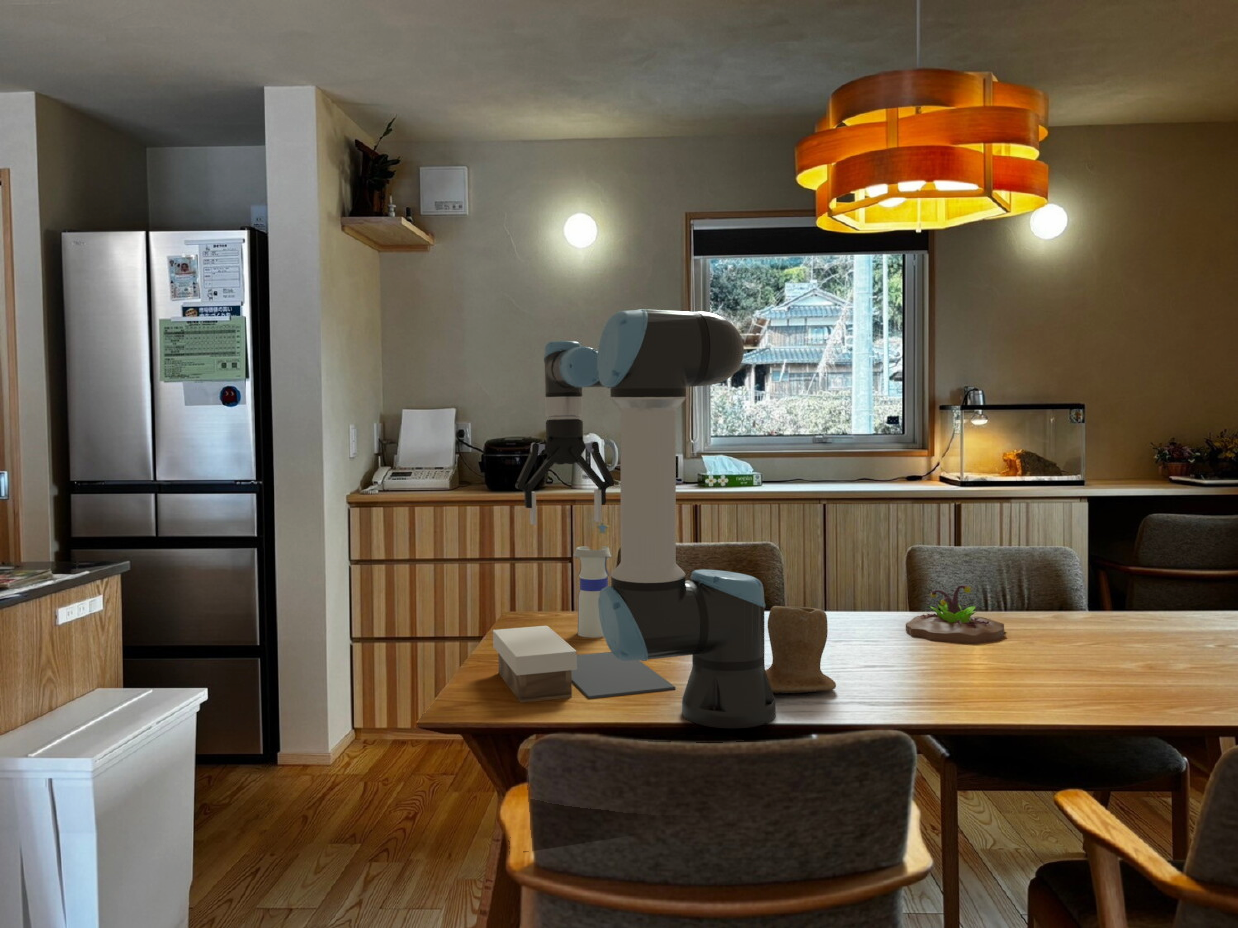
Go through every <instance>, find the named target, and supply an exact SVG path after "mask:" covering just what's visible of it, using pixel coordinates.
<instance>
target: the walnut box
mask: <svg viewBox="0 0 1238 928" xmlns="http://www.w3.org/2000/svg"><path fill="white" fill-rule="evenodd" d="M497 658H498V659H497V660H498V661H497V662H498V663H497V664H498V674H499V676H500V677H501V678H502V680H503V681H504V682H505V684H506V686H508V687H509V689H510V690H511V691H512V693H513V694H514V696H515V697H516V698H517V700H518V701H519V702H520V704H522V703H530V702H539V701H540V702H541V701H550V700H559V699H569V698H573V693H572V692H573V690H572V688H573V687H572V686H573V685H572V684H573V683H572V677H571V670H568V671H557V672H547V673H537V674H527V675H516V674H515V673H514V672H513V670H512V669H511V668H510V667H509V665H508V664H507V663H506V662H505V661H504V659H503V658H502V657H501V656H500V654H499V653H498V652H497Z"/></svg>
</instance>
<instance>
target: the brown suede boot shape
mask: <svg viewBox="0 0 1238 928" xmlns="http://www.w3.org/2000/svg"><path fill="white" fill-rule="evenodd" d="M767 619H768V620H767V630H768V631H767V632H768V638H769V644H770V649H771V656H772V662H771V665H770V666H769V667H768V668H766V669H765V671H766V674H767V677H768V680H769V683H770V686H771V689H772V692H773V694H799V693H802V694H803V693H815V692H828V691H834V690H835V689H836V688H837V684H836V682H835V681H834V680H833V678H831V677H829V676H828V675H826V674H824V673H823V672H822V669H821V661H822V657H823V653H824V650H825V647H826V643H827V639H828V632H829V631H828V628H829V627H828V615H827V614H826V612H825V611H824V610H823V609H820V608H815V607H807V606H804V607H803V606H790V605H789V606H782V605H781V606H779V605H773V606H772V607H771V608H770V610H769V614H768V617H767Z"/></svg>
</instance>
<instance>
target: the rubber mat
mask: <svg viewBox="0 0 1238 928" xmlns="http://www.w3.org/2000/svg"><path fill="white" fill-rule="evenodd" d="M571 677H572V684H573V685H574V686H576V688H577V689H578V690H579V691H581V693H582V694H583V695H584V697H586V698H587V699H588V700H592V699H602V698H609V697H610V698H611V697H612V698H613V697H619V696H628V695H638V694H649V693H655V692H664V691H665V692H666V691H675V690H676V686H675V685H674V684H673V683H671V682H669V681H668V680H667V679H666V678H664V677H663V676H661V675H660V674H659V673H657V672H656V671H654V669H652V668H650V667H649V666H648V665H646V664H645V663H644V662H643V661H641V660H633V661H623V660H620V659H618V658H617V657H616V656H614V654H613V653H612V652H611V651H606V652H605V651H604V652H596V653H595V652H594V653H585V654H584V653H583V654H577V670H571Z"/></svg>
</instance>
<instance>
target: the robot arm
mask: <svg viewBox="0 0 1238 928" xmlns="http://www.w3.org/2000/svg"><path fill="white" fill-rule="evenodd" d="M744 351H745V347H744V341H743V339H742V336H741V334H740V332H739V330H738V329H737V328H736V326H735V325H734V324H733V323H732V322H730V321H729V320H727V319H726V318H724V317H722V316H720V315H718V314H715V313H713V312H708V311H699V310H698V311H681V310H664V309H663V310H661V309H659V310H658V309H641V308H639V309H631V310H619V311H617V312H614V314H613V315H611V316H610V317H609V319H608V320H607V322H606V324H605V326H604V328H603V330H602V332H601V336H600V339H599V343H598V347H589V346H582V345H581V343H580V342H578V341H573V340H557V341H555V340H554V341H550V342H549V341H548V342H547V343H546V344H545V345H544V356H543V363H544V385H545V386H544V387H545V389H544V390H545V391H544V392H545V393H544V394H545V396H544V397H545V417H546V418H547V417H548V419H547V420H546V421H545V442H544V443H542V444H541V443H538V442H532V443H530V444H529V445H530V448H529V454H528V456H527V458H526V461H525V462H524V465H523V467H522V469H521V471H520V474H519V476H518V477H517V480H516V483H515V485H514V487H515V488H516V489H518V490H521V491H523V493H524V507H525V508H526V509H529V524H530V525H532V526H537V492H535V491H533V490H534V488H536V486H537V485H538V483H540V481H541V480H542V479H543V477H544V476H545V475H546V474H547V472H549V470H550V469H551V468H552V467H553V465H555V464H556V465H566V464H567V465H574V464H576V465H578V467H580V468H581V469H582V471H583V472H584V473H585V474H586V475H587V476H588V478H589V479H590V480H591V481H592V483H593V484H594V485H595V486H596V487H597V488H595V489H593V493H594V494H593V501H594V502H593V503H594V504H593V508H594V522H597V523H602V521H603V519H602V516H603V515H602V509H603V508H602V506H605V505H606V503H607V501H606V500H607V494H606V493H607V491H606V490H607V489H608V488H610V487H613V486H615V480H614V478H613V476H612V474H611V472H610V470H609V468H608V466H607V464H606V462H605V461H604V458H603V456H602V454H601V452H600V446H599V445H600V444H599V442H598V441H594V440H592V441H590V442H587V443H586V442H585V441H584V423H583V422H584V421H583V420H582V419H581V417H582V416H584V415H583V414H584V412H583V411H584V410H583V388H607V389H610V400H611V401H612V402H613V403H614V404H615V406H617V407H618V408H619V410H620V411H619V414H620V417H619V418H620V425H619V426H620V427H619V429H620V432H619V433H620V434H619V435H620V439H619V440H620V443H619V444H620V446H619V447H620V448H619V449H620V562H619V564H618V565H617V566H616V567H615V568H614V570H612V571H611V573H610V574H611V575H610V580H611V581H610V583H611V584H610V585H608V586H606V587H605V588H603V589H602V590H601V591H600V593H599V596H600V597H599V599H598V609H599V618H600V623H601V627H602V631H603V634H604V637H603V638H604V640H605V643H606V644H607V646H608V647H607V648H608V649H609V650H610V652H612V653H613V654H614V656H616V657H617V658H618V659H620V660H623V661H633V660H639V661H641V662H647V661H648V660H656V659H657V660H658V659H665V658H674V657H675V658H677V657H685V656H686V657H687V656H692V658H691V659H692V660H691V661H692V664H691V665H692V666H691V670H690V673H689V676H688V681H687V683H686V686H685V689H684V694H683V696H682V700H681V715H682V716H683V718H684V719H686V720H687V721H688V722H692V723H694V724H696V725H700V726H705V727H710V728H715V729H716V728H717V729H747V728H754V727H755V728H756V727H759V726H762V725H766V724H768V722H769V723H770V722H772V721H774V719H775V718H776V717H777V714H776V713H777V712H776V710H777V708H776V707H777V705H776V703H777V702H776V698H775V696H774V693H773V692H772V689H771V686H770V683H769V680H768V677H767V674H766V671H765V670H766V667H765V609H766V602H765V593H764V591H765V590H764V585H763V583H762V581H761V580H760V579H758V578H756V577H755V576H752V575H749V574H745V573H739V572H733V571H727V570H718V569H695V570H693V571H692V572H691V575H690V577H689V578H690V580H686V572H684V570H683V569H682V568H681V567H680V566H679V565H678V564H677V561H676V560H677V558H676V555H677V553H676V551H677V550H676V548H677V547H676V543H677V540H676V536H677V534H676V532H677V531H676V528H677V527H676V526H677V525H676V524H677V523H676V522H677V521H676V520H677V517H676V515H677V514H676V513H677V512H676V510H677V508H676V507H677V506H676V505H677V502H676V501H677V500H676V499H677V495H676V489H677V488H676V487H677V484H676V482H677V481H676V479H677V477H676V475H677V473H676V472H677V470H676V469H677V465H676V463H677V459H676V458H677V453H676V452H677V449H676V446H677V442H676V440H677V439H676V438H677V436H676V435H677V427H676V426H677V412H676V411H677V409H678V407H680V406H681V404H683V402H685V400H686V399H687V398H686V396H687V395H686V394H687V392H686V391H687V388H688V387H694V388H695V387H706V386H713V385H716V384H717V385H718V384H719V383H722V382H724V381H726V380H728V379H730V378H731V377H732V376H734V375H735V373H737V371H738V369H739V368H740V366H741V364H742V362H743V360H744V354H745V353H744ZM686 387H687V388H686ZM585 450H587V452H589V453H590V454H591V457H592V459H593V461H594V463H595V465H596V467H597V469H598V471H599V472H600V474H601V477H602V478H600V476H599V475H598V473H596V471H595V470H594V469H593V468H592V467H591V466H590V465H589V463H588V461H587V460H586V459H585V458H584V456H582V454H583V453H584V452H585ZM542 451H545V454H547V457H546V458H545V459H544V460H543V463H542V464H541V465H540V466H539V468H538V469H537V470H536V472H535V473H534V474H533V476H532V477H531V478H530V479H529V480H528V478H529V476H530V474H531V471H532V470H533V468H534V465H535V463H536V461H537V459H538V455H541V454H542ZM527 480H528V482H527ZM526 482H527V483H526ZM765 723H766V724H765Z"/></svg>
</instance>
